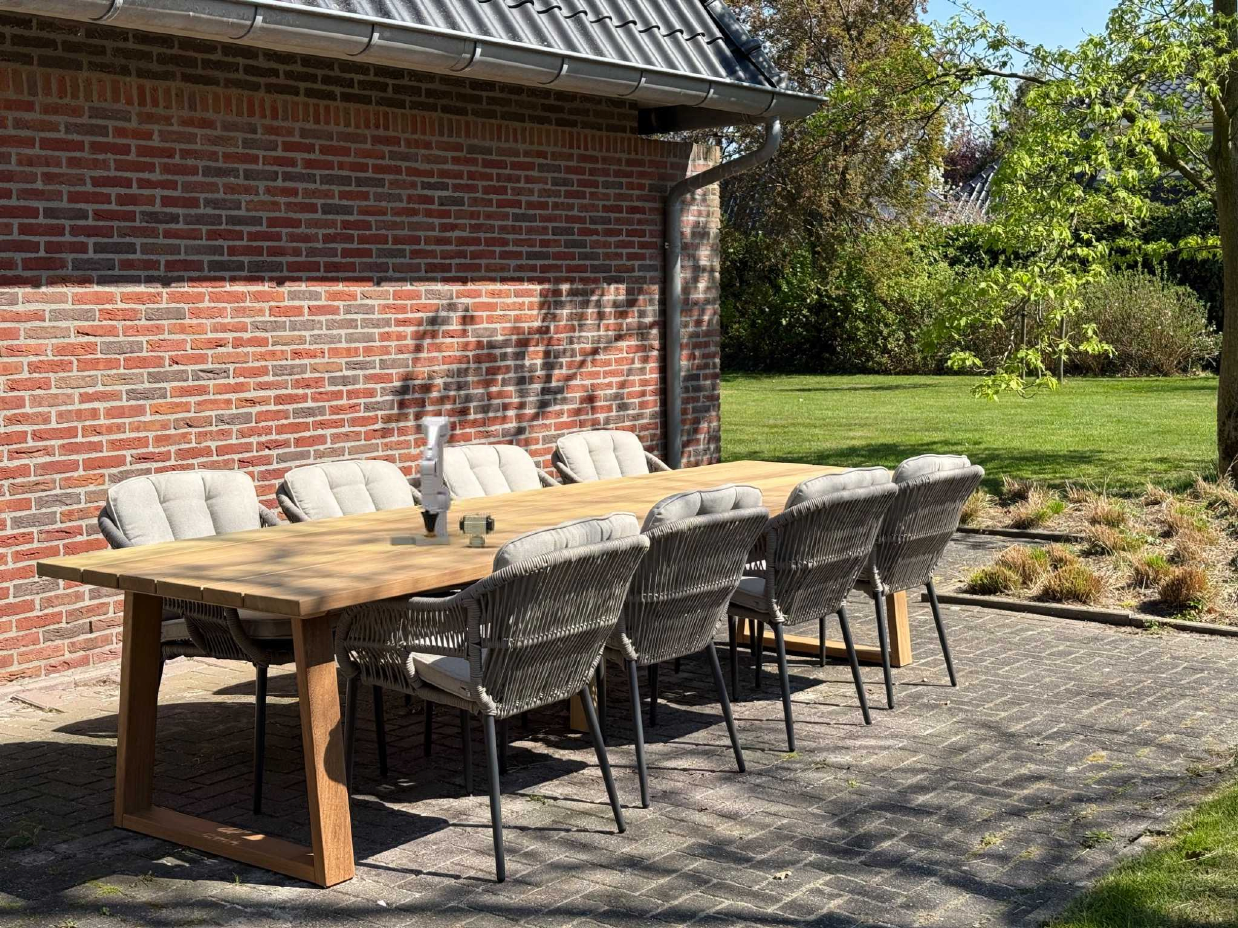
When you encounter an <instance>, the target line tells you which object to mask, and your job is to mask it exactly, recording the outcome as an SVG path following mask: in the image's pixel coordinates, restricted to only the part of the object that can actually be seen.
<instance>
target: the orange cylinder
mask: <svg viewBox="0 0 1238 928" xmlns="http://www.w3.org/2000/svg"><path fill="white" fill-rule="evenodd" d="M426 532H427V535H426V537H434V536H435V529H434V532H428V531H426Z"/></svg>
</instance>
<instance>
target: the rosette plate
mask: <svg viewBox="0 0 1238 928" xmlns="http://www.w3.org/2000/svg"><path fill="white" fill-rule="evenodd" d="M426 535H427V534H425V533H412V534H410V535H402V536H401V535H399V536H396V535H395V536H389V544H390V545H391V546H406V545H414V546H416V547H417V546H421V547H422V546H439V545H440V546H442V545H450V543H451V541H450V540H451V539H450V538H451V537H450V535H449V536H447V535H446V534H444V533H435V536H434V537H426Z"/></svg>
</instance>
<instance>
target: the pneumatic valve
mask: <svg viewBox="0 0 1238 928" xmlns="http://www.w3.org/2000/svg"><path fill="white" fill-rule="evenodd" d="M458 525H459V527H458V528H459V531H462V534H463V535H472V537H470V538H469V540H468V543H469V545H470V547H471V548H481V547H483V546H485V544H486V539H485V538H484V536H483V535H490V534H491V533H492V532H494V530H495V526H496V524H495V519H494V518H492V515H491V514H479V512H475V514H465V515H463V516H462V517H461V518H460V519H459V524H458Z"/></svg>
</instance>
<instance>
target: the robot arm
mask: <svg viewBox="0 0 1238 928" xmlns="http://www.w3.org/2000/svg"><path fill="white" fill-rule="evenodd" d="M421 419H422V420H421V431H422V432H423V436H424V438H425V440H427V443H426V444H427V445H425V446H424V447H423V451H422V458H421V461H420V462H419V464H418V465H419V466H418V471H419V480H420V482H421V483H420V485H421V486H420V493H421V499H420V500H421V505H418V506H417V508H418V509H419V510H420V509H423V510H424V511H420V515H421V516H422V517H421V518H423V519H422V520H423V524H424V529H425V531H424V533H423V534H427V531H428V532H434V529H435V533H444V534H446V535H447V536H449V537H450V535H451V534H450V533H449V532H448V511H450V509H451V506H452V505H451V504H452V498H451V497H452V496H451V490H450V488H448V487H447V486H446V485H445V484H444V446H445V442H446V441H447V440H449V439H450V436H451V419H450V416H448V415H446V416H425V415H424V416H423V417H422V418H421Z"/></svg>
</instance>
